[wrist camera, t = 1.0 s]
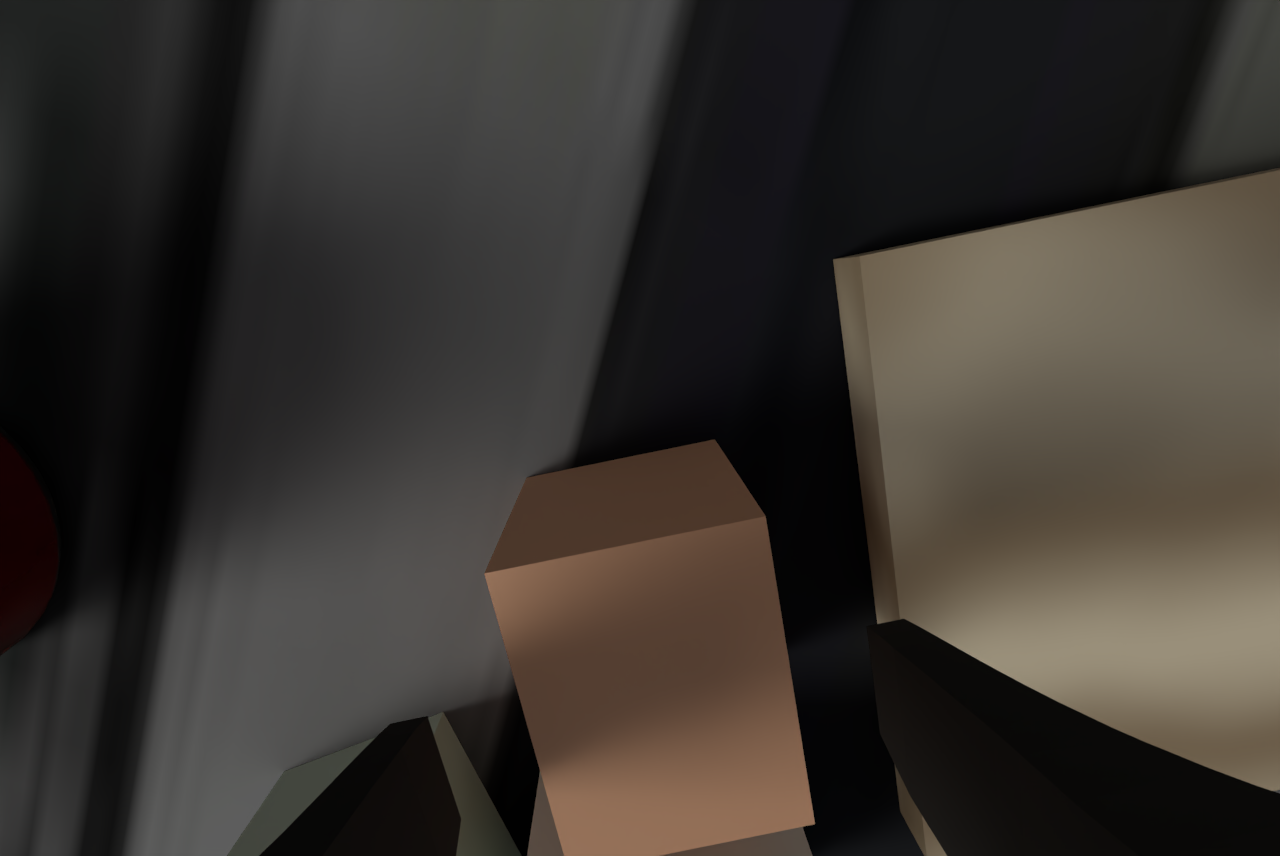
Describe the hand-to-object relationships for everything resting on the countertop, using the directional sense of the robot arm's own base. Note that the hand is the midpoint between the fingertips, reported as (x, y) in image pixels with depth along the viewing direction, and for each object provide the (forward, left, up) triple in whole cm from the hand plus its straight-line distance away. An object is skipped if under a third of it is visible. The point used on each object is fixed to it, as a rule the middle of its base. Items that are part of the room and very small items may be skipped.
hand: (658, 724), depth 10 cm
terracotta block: (0, 0, -6) cm, 6 cm away
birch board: (-1, -12, -5) cm, 13 cm away
